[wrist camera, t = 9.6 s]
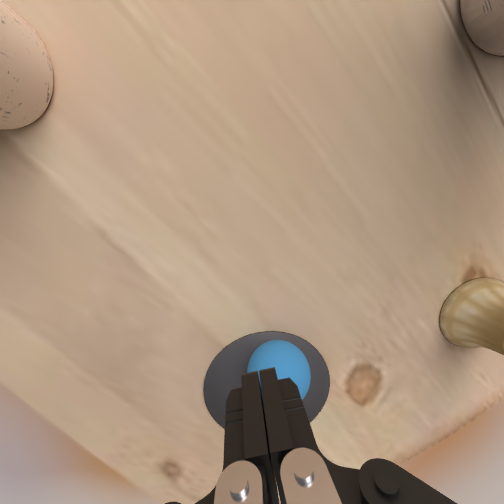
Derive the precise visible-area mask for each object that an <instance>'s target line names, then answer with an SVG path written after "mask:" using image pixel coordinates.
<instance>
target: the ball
mask: <svg viewBox="0 0 504 504" xmlns="http://www.w3.org/2000/svg"><path fill="white" fill-rule="evenodd" d="M272 367H275V370H276V374H277V378H278V380H279V379H284V378H289V377H290V379H291V380H292V381H293V382H294V383H295V384H296V385H297V386H298V389H299V393H300V396H301V399H302V400H303V399H304V397H305V396H306V394H307V392H308V389H309V386H310V380H311V373H310V367H309V364H308V361H307V359H306V357H305V356H304V354H303V353H302V351H301V350H300V349H299V348H298V347H296V346H295V345H293V344H292V343H290V342H287V341H284V340H271V341H268V342H265V343H263V344H262V345H260V346H259V347H258V348H257V349H256V350H255V351H254V353H253V354H252V356H251V358H250V360H249V363H248V368H247V373H249V372H253V371H258V374H259V370H263V369H268V368H272ZM259 379H260V375H259ZM260 384H261V382H260Z"/></svg>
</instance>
